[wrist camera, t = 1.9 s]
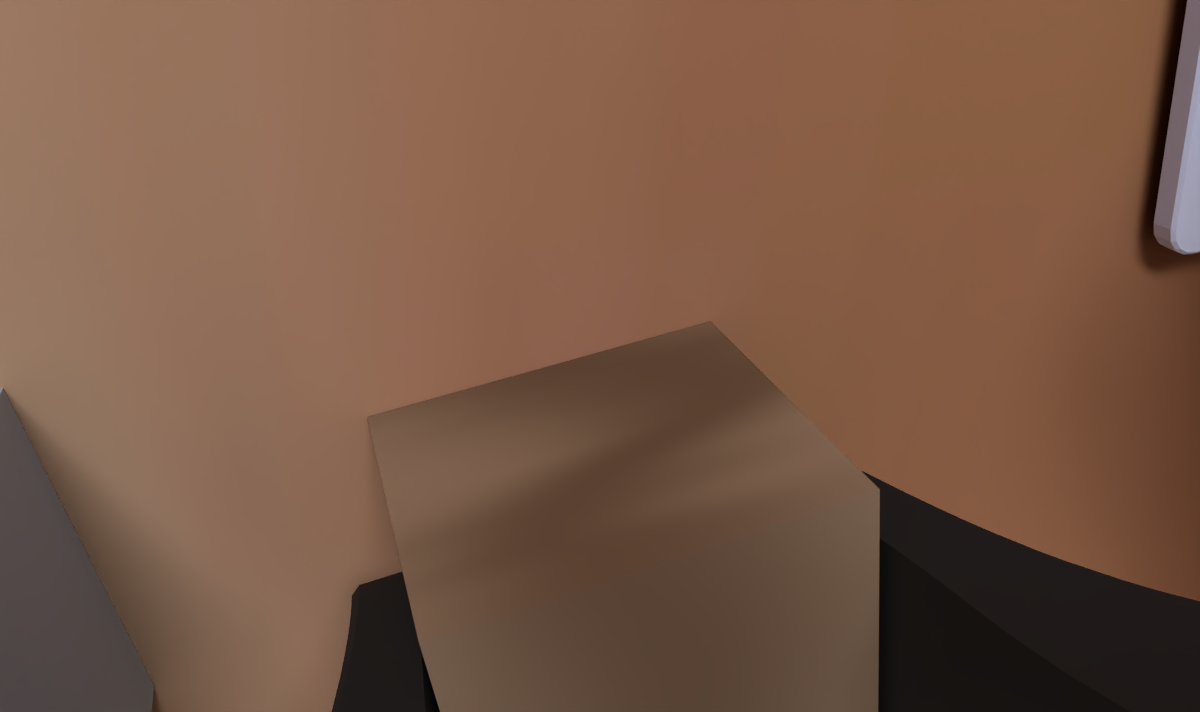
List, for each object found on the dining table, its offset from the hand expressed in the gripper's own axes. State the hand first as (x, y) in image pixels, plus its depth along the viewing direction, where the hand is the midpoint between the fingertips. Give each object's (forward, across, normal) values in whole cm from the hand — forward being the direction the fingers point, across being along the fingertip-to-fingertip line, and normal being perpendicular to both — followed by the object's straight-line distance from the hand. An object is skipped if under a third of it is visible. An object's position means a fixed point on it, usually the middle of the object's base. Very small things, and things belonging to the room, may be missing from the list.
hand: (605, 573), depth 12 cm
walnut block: (+1, 0, 0) cm, 1 cm away
